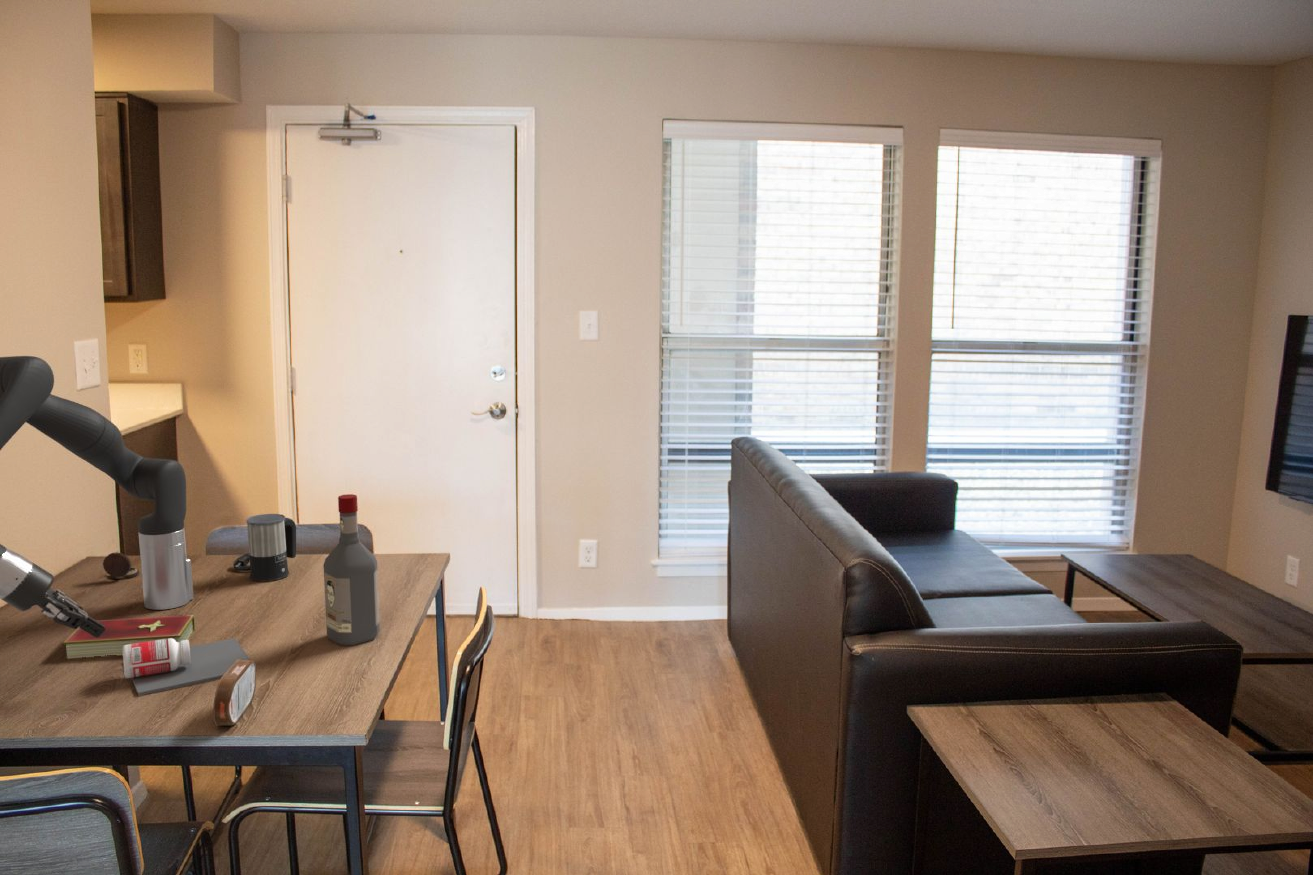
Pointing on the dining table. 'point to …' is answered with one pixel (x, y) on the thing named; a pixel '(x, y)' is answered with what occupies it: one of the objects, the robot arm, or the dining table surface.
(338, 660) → the dining table surface
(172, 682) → the mat
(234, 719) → the tin
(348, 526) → the liquor
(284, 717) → the dining table surface
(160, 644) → the pill bottle
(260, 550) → the milk frother
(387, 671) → the dining table surface
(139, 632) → the hardcover book
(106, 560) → the compass
